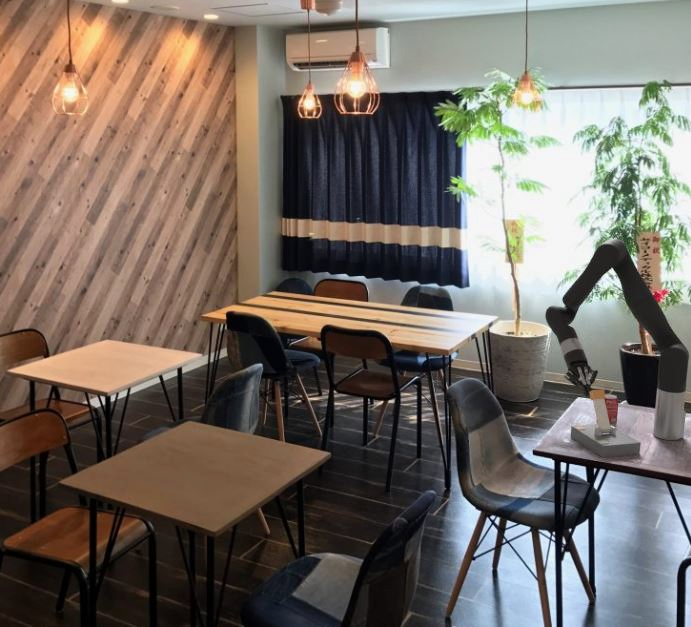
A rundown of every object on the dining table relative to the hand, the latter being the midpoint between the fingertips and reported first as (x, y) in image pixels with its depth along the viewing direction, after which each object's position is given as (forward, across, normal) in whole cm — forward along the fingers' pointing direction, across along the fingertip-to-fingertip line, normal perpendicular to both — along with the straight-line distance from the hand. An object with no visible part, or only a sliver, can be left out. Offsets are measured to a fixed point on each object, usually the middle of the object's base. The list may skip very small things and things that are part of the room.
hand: (589, 395), depth 283 cm
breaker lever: (+14, 0, -2) cm, 14 cm away
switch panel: (+18, 0, +2) cm, 18 cm away
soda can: (+7, +11, +14) cm, 19 cm away
